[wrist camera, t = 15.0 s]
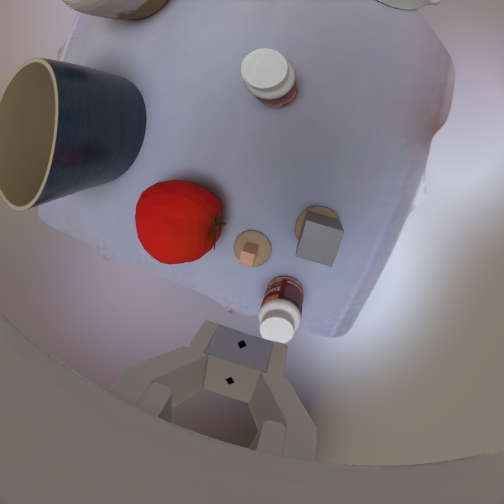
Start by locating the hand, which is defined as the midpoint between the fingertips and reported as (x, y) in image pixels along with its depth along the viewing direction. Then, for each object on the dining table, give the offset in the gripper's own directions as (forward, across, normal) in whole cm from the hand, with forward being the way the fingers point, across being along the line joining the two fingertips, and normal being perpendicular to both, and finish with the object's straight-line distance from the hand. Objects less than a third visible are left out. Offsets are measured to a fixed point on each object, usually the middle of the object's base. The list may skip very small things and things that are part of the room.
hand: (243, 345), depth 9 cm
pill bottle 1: (+33, +6, -15) cm, 37 cm away
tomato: (+33, +15, +7) cm, 37 cm away
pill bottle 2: (+33, -3, +16) cm, 37 cm away
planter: (+33, +37, -5) cm, 50 cm away
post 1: (+33, +4, +10) cm, 35 cm away
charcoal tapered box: (+32, -5, +4) cm, 32 cm away
